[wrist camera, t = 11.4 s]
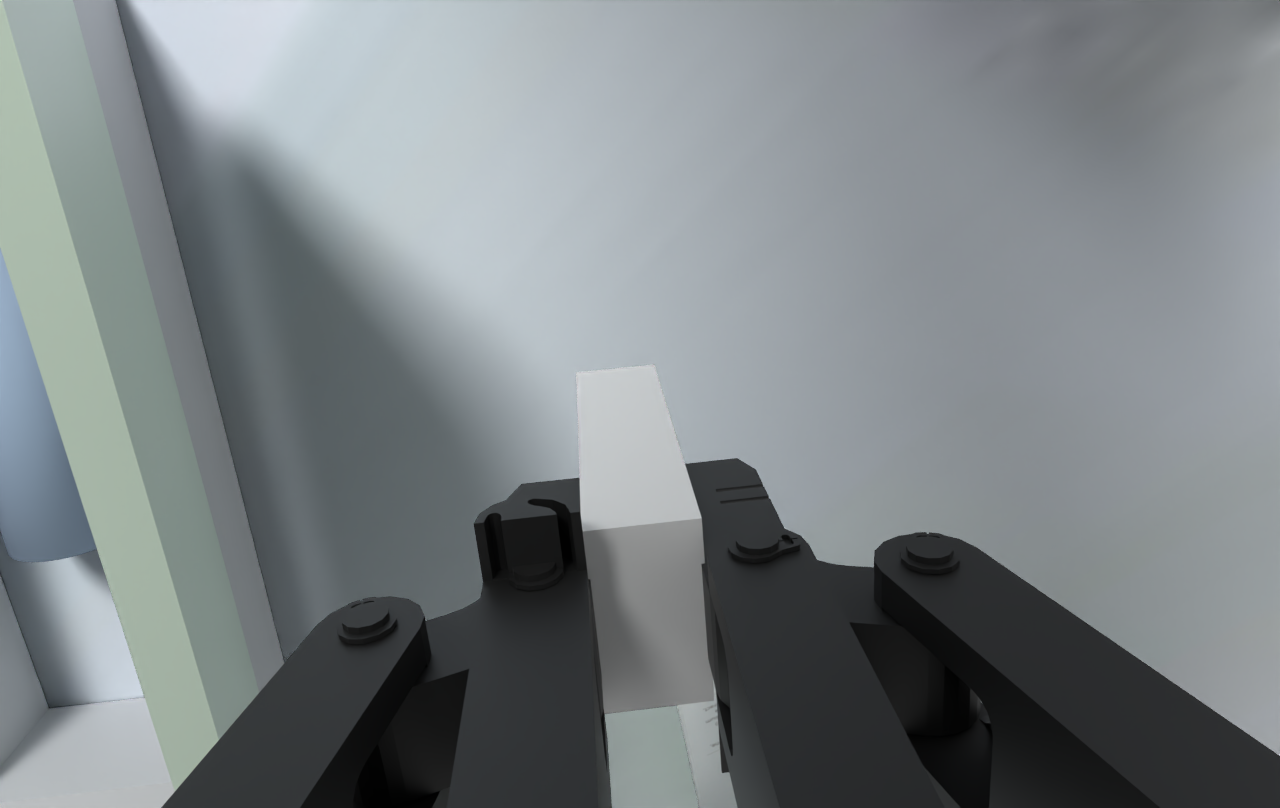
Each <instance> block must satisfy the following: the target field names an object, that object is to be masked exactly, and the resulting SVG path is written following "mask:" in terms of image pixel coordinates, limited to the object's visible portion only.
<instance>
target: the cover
mask: <svg viewBox="0 0 1280 808" xmlns="http://www.w3.org/2000/svg"><path fill="white" fill-rule="evenodd" d="M0 248H1V251H2V254H3V257H4V261H5V264H6V267H7V270H8V273H9V276H10V279H11V282H12V286H13V289H14V292H15V295H16V298H17V301H18V304H19V307H20V311H21V314H22V317H23V320H24V323H25V326H26V329H27V332H28V335H29V339H30V342H31V345H32V348H33V351H34V354H35V357H36V360H37V364H38V367H39V370H40V373H41V376H42V379H43V382H44V385H45V388H46V392H47V395H48V398H49V401H50V404H51V407H52V410H53V413H54V417H55V420H56V423H57V426H58V429H59V432H60V435H61V438H62V442H63V445H64V448H65V451H66V454H67V457H68V460H69V463H70V466H71V470H72V473H73V476H74V479H75V482H76V485H77V488H78V491H79V495H80V498H81V501H82V504H83V507H84V510H85V513H86V516H87V519H88V523H89V526H90V529H91V532H92V535H93V538H94V541H95V544H96V548H97V551H98V554H99V557H100V560H101V563H102V566H103V569H104V573H105V576H106V579H107V582H108V585H109V588H110V591H111V594H112V597H113V601H114V604H115V607H116V610H117V613H118V616H119V619H120V622H121V626H122V629H123V632H124V635H125V638H126V641H127V644H128V647H129V650H130V654H131V657H132V660H133V663H134V666H135V669H136V672H137V675H138V679H139V682H140V685H141V688H142V691H143V694H144V697H145V700H146V703H147V707H148V710H149V713H150V716H151V719H152V722H153V725H154V728H155V732H156V735H157V738H158V741H159V744H160V747H161V750H162V753H163V757H164V760H165V763H166V766H167V769H168V772H169V775H170V778H171V781H172V785H173V788H174V791H176V790H177V788H178V787H179V786H180V785H181V784H182V783H183V781H184V780H185V779H186V778H187V777H188V776H189V774H190V773H191V772H192V771H193V770H194V769H195V767H196V766H197V765H198V764H199V763H200V762H201V760H202V759H203V758H204V757H205V756H206V754H207V753H208V752H209V751H210V750H211V749H212V747H213V746H214V745H215V744H216V743H217V742H218V740H219V739H220V738H221V737H222V736H223V735H224V733H225V732H226V731H227V730H228V729H229V728H230V726H231V725H232V724H233V723H234V722H235V721H236V719H237V718H238V717H239V716H240V715H241V713H242V712H243V711H244V710H245V709H246V708H247V706H248V705H249V704H250V703H251V702H252V701H253V699H254V698H255V697H256V696H257V695H258V694H259V690H258V686H257V682H256V678H255V675H254V671H253V667H252V664H251V660H250V656H249V652H248V649H247V645H246V641H245V638H244V634H243V630H242V626H241V623H240V619H239V615H238V612H237V608H236V604H235V600H234V597H233V593H232V589H231V586H230V582H229V578H228V574H227V571H226V567H225V563H224V560H223V556H222V552H221V548H220V545H219V541H218V537H217V534H216V530H215V526H214V522H213V519H212V515H211V511H210V508H209V504H208V500H207V496H206V493H205V489H204V485H203V482H202V478H201V474H200V470H199V467H198V463H197V459H196V456H195V452H194V448H193V444H192V441H191V437H190V433H189V430H188V426H187V422H186V418H185V415H184V411H183V407H182V404H181V400H180V396H179V392H178V389H177V385H176V381H175V378H174V374H173V370H172V366H171V363H170V359H169V355H168V352H167V348H166V344H165V340H164V337H163V333H162V329H161V326H160V322H159V318H158V314H157V311H156V307H155V303H154V300H153V296H152V292H151V288H150V285H149V281H148V277H147V274H146V270H145V266H144V262H143V259H142V255H141V251H140V248H139V244H138V240H137V236H136V233H135V229H134V225H133V222H132V218H131V214H130V210H129V207H128V203H127V199H126V196H125V192H124V188H123V184H122V181H121V177H120V173H119V170H118V166H117V162H116V158H115V155H114V151H113V147H112V144H111V140H110V136H109V132H108V129H107V125H106V121H105V118H104V114H103V110H102V106H101V103H100V99H99V95H98V92H97V88H96V84H95V80H94V77H93V73H92V69H91V66H90V62H89V58H88V54H87V51H86V47H85V43H84V40H83V36H82V32H81V28H80V25H79V21H78V17H77V14H76V10H75V6H74V2H73V0H0Z"/></svg>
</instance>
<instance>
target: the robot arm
mask: <svg viewBox="0 0 1280 808" xmlns="http://www.w3.org/2000/svg"><path fill="white" fill-rule="evenodd" d="M576 385H577V416H578V447H579V478H573V479H564V480H555V481H545V482H536V483H527V484H521V485H520V486H519V487H518V488H517V489H516V490H515V491H514V492H513V493H512V495H511V496H510V497H509V498H508V499H507V500H505V501H503V502H500V503H497V504H495V505H492V506H491V507H489V508H488V509H486V510H485V511H483V512H482V513H480V514H479V516H478V517H477V519H476V521H475V522H474V528H475V534H476V540H477V547H478V553H479V559H480V565H481V571H482V577H483V587H482V593H481V598H480V599H479V600H477V601H476V602H474V603H473V604H471V605H469V606H467V607H465V608H463V609H461V610H458V611H456V612H453V613H450V614H447V615H444V616H441V617H438V618H434V619H431V620H428V621H425V617H424V614H423V612H422V609H421V607H420V605H418V604H416V603H414V602H413V601H411V600H409V599H405V598H398V597H380V598H376V597H372V598H367V599H363V601H360V600H359V601H356V602H353V603H350V604H348V605H347V606H345V607H343V608H341V609H339V610H337V611H335V612H333V613H331V614H330V615H328V616H327V617H326V618H325V619H324V620H323V621H321V622H320V623H319V624H318V625H317V626H316V627H315V628H314V629H313V630H312V631H311V633H310V634H309V635H308V636H307V637H306V639H305V640H304V641H303V642H302V643H301V644H300V646H299V647H298V648H297V649H296V650H295V651H294V653H293V654H292V655H291V656H290V657H289V658H288V660H287V661H286V662H285V663H284V664H283V665H282V667H281V668H280V669H279V670H278V671H277V672H276V674H275V675H274V676H273V677H272V678H271V680H270V681H269V682H268V683H267V684H266V685H265V687H264V688H263V689H262V690H261V691H260V692H259V694H258V695H257V696H256V697H255V698H254V699H253V701H252V702H251V703H250V704H249V705H248V706H247V708H246V709H245V710H244V711H243V712H242V713H241V715H240V716H239V717H238V718H237V719H236V721H235V722H234V723H233V724H232V725H231V726H230V728H229V729H228V730H227V731H226V732H225V733H224V735H223V736H222V737H221V738H220V739H219V740H218V742H217V743H216V744H215V745H214V746H213V747H212V749H211V750H210V751H209V752H208V753H207V754H206V756H205V757H204V758H203V759H202V760H201V762H200V763H199V764H198V765H197V766H196V767H195V769H194V770H193V771H192V772H191V773H190V774H189V776H188V777H187V778H186V779H185V780H184V781H183V783H182V784H181V785H180V786H179V787H178V788H177V790H176V791H175V792H174V793H173V794H172V795H171V797H170V798H169V799H168V800H167V801H166V803H165V804H164V805H163V806H162V807H161V808H612V803H611V788H610V773H609V758H608V742H607V733H606V724H605V716H604V714H608V713H616V712H625V711H633V710H641V709H650V708H658V707H666V706H675V705H683V704H691V703H700V702H708V701H714V688H713V680H714V685H715V689H716V698H717V712H718V727H719V742H720V756H721V771H722V773H727V772H729V773H730V778H731V782H732V786H733V791H734V795H735V799H736V803H737V808H1280V756H1279V755H1277V754H1276V753H1275V752H1273V751H1272V750H1270V749H1269V748H1267V747H1266V746H1264V745H1263V744H1261V743H1260V742H1259V741H1257V740H1256V739H1254V738H1253V737H1251V736H1250V735H1248V734H1247V733H1245V732H1244V731H1243V730H1241V729H1240V728H1238V727H1237V726H1235V725H1234V724H1232V723H1231V722H1229V721H1228V720H1227V719H1225V718H1224V717H1222V716H1221V715H1219V714H1218V713H1216V712H1215V711H1213V710H1212V709H1211V708H1209V707H1208V706H1206V705H1205V704H1203V703H1202V702H1200V701H1199V700H1197V699H1196V698H1195V697H1193V696H1192V695H1190V694H1189V693H1187V692H1186V691H1184V690H1183V689H1181V688H1180V687H1179V686H1177V685H1176V684H1174V683H1173V682H1171V681H1170V680H1168V679H1167V678H1165V677H1164V676H1163V675H1161V674H1160V673H1158V672H1157V671H1155V670H1154V669H1152V668H1151V667H1149V666H1148V665H1147V664H1145V663H1144V662H1142V661H1141V660H1139V659H1138V658H1136V657H1135V656H1133V655H1132V654H1131V653H1129V652H1128V651H1126V650H1125V649H1123V648H1122V647H1120V646H1119V645H1117V644H1116V643H1115V642H1113V641H1112V640H1110V639H1109V638H1107V637H1106V636H1104V635H1103V634H1101V633H1100V632H1099V631H1097V630H1096V629H1094V628H1093V627H1091V626H1090V625H1088V624H1087V623H1085V622H1084V621H1082V620H1081V619H1080V618H1078V617H1077V616H1075V615H1074V614H1072V613H1071V612H1069V611H1068V610H1066V609H1065V608H1064V607H1062V606H1061V605H1059V604H1058V603H1056V602H1055V601H1053V600H1052V599H1050V598H1049V597H1048V596H1046V595H1045V594H1043V593H1042V592H1040V591H1039V590H1037V589H1036V588H1034V587H1033V586H1032V585H1030V584H1029V583H1027V582H1026V581H1024V580H1023V579H1021V578H1020V577H1018V576H1017V575H1016V574H1014V573H1013V572H1011V571H1010V570H1008V569H1007V568H1005V567H1004V566H1002V565H1001V564H1000V563H998V562H997V561H995V560H994V559H992V558H991V557H989V556H988V555H986V554H985V553H984V552H982V551H981V550H979V549H978V548H976V547H974V546H972V545H970V544H968V543H966V542H964V541H962V540H960V539H957V538H952V537H948V536H944V535H942V534H939V533H929V534H926V532H921V533H914V534H909V535H902V536H897V537H895V538H892V539H890V540H887V541H885V542H883V543H882V544H881V545H880V546H879V547H878V548H877V549H876V550H875V556H874V568H872V567H856V566H844V565H836V564H830V563H826V562H822V561H818V560H817V559H816V557H815V556H814V554H813V552H812V550H811V548H810V546H809V544H808V543H807V542H806V541H805V540H804V539H803V538H802V537H801V536H800V535H798V534H795V533H793V532H791V531H789V530H786V529H784V527H783V525H782V523H781V521H780V519H779V517H778V515H777V512H776V510H775V508H774V506H773V504H772V502H771V500H770V499H769V497H768V494H767V492H766V490H765V488H764V487H763V484H762V482H761V480H760V478H759V475H758V473H757V471H756V470H755V469H754V468H752V467H750V466H749V465H747V464H746V463H744V462H742V461H741V460H739V459H737V458H735V459H726V460H717V461H708V462H698V463H689V464H685V462H684V459H683V456H682V453H681V450H680V446H679V443H678V440H677V437H676V433H675V430H674V427H673V424H672V420H671V417H670V414H669V411H668V407H667V404H666V401H665V398H664V394H663V391H662V388H661V385H660V382H659V378H658V375H657V372H656V369H655V365H654V364H652V365H642V366H632V367H623V368H613V369H604V370H594V371H584V372H576ZM981 702H982V703H983V704H982V703H981Z"/></svg>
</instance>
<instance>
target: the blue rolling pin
mask: <svg viewBox="0 0 1280 808" xmlns="http://www.w3.org/2000/svg"><path fill="white" fill-rule="evenodd" d="M0 532H1V535H2V537H3V540H4V543H5V546H6V549H7V551H8V554H9V556H10V557H11V558H13V559H15V560H18V561H23V562H45V561H53V560H59V559H64V558H68V557H73V556H76V555H80V554H83V553H87V552H90V551H93V550H95V549H97V548H96V544H95V541H94V538H93V535H92V532H91V529H90V526H89V523H88V519H87V516H86V513H85V510H84V507H83V504H82V501H81V498H80V495H79V491H78V488H77V485H76V482H75V479H74V476H73V473H72V470H71V466H70V463H69V460H68V457H67V454H66V451H65V448H64V445H63V442H62V438H61V435H60V432H59V429H58V426H57V423H56V420H55V417H54V413H53V410H52V407H51V404H50V401H49V398H48V395H47V392H46V388H45V385H44V382H43V379H42V376H41V373H40V370H39V367H38V364H37V360H36V357H35V354H34V351H33V348H32V345H31V342H30V339H29V335H28V332H27V329H26V326H25V323H24V320H23V317H22V314H21V311H20V307H19V304H18V301H17V298H16V295H15V292H14V289H13V286H12V282H11V279H10V276H9V273H8V270H7V267H6V264H5V261H4V257H3V254H2V251H1V248H0Z"/></svg>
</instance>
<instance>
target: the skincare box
mask: <svg viewBox="0 0 1280 808" xmlns="http://www.w3.org/2000/svg"><path fill="white" fill-rule="evenodd" d="M713 688H714V701H708V702H700V703H691V704H683V705H677V709H678V713H679V718H680V722H681V727H682V731H683V736H684V740H685V745H686V749H687V754H688V758H689V763H690V767H691V772H692V777H693V782H694V787H695V791H696V796H697V801H698V805H699V808H737V803H736V799H735V795H734V791H733V786H732V782H731V778H730V773H729V772H727V773H722V771H721V756H720V742H719V727H718V712H717V698H716V689H715V685H714V680H713Z"/></svg>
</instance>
